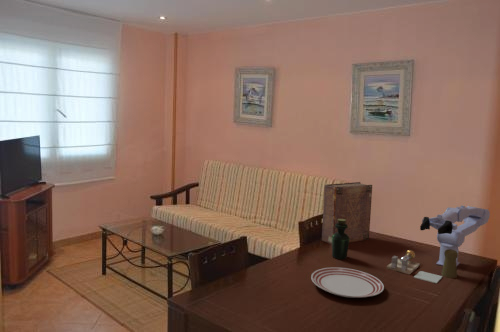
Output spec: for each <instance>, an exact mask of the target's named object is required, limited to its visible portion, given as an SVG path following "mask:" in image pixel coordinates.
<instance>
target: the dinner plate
mask: <svg viewBox="0 0 500 332" xmlns="http://www.w3.org/2000/svg"><path fill="white" fill-rule="evenodd" d="M310 278H311V281H312V283H313V284H314V286H317V288H319V289H321V290H323V291H325V292H327V293H330V294H333V295H335V296H337V297H342V298H352V299H354V298H355V299H356V298H357V299H359V298H368V297H374V296H377V295H379V294H381V293H383V291H384V290H385V286H384V283H383V282H382V281H381V280H380V279H379V278H378V277H376V276H374V275H372V274H370V273H368V272H364V271H362V270H357V269H352V268H347V267H323V268H320V269H316V270H315V271H313V272H312V273H311V276H310Z"/></svg>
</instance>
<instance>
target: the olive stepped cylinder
mask: <svg viewBox="0 0 500 332" xmlns="http://www.w3.org/2000/svg"><path fill="white" fill-rule="evenodd" d="M444 255H445V261H444V265H443V266H442V270H441V275H440V276H443V277H445V278H449V279H456V278H457V277H458V272H457V271H458V270H457V267H456V258H457V257H458V258H459V252H458V253H457V251H455V250H451V249H447V250H445V252H444Z"/></svg>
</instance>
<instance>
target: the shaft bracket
mask: <svg viewBox="0 0 500 332" xmlns="http://www.w3.org/2000/svg"><path fill="white" fill-rule="evenodd" d="M400 259H401V258H399V256H396V255H393V256H392V257H391V263H389V264H387V265H386V270H391V271H394V272H399V273H403V274H405V275H410V274H412V273H413V272H414V271H416V270H417V268H420V266H421V263H419V262H415V261H410V260H409V259H406V258H404V259H403V260H402V263H401V262H400Z"/></svg>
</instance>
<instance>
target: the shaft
mask: <svg viewBox="0 0 500 332" xmlns="http://www.w3.org/2000/svg"><path fill="white" fill-rule="evenodd" d="M415 257H416V253H415V251H413V250H412V249H409V250H407V251H406V252H405V255H404V256H402V257H401V258H399V259H400V262H401V263H402V260H403V259H404V258H406V259H408V260H414V258H415Z"/></svg>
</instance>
